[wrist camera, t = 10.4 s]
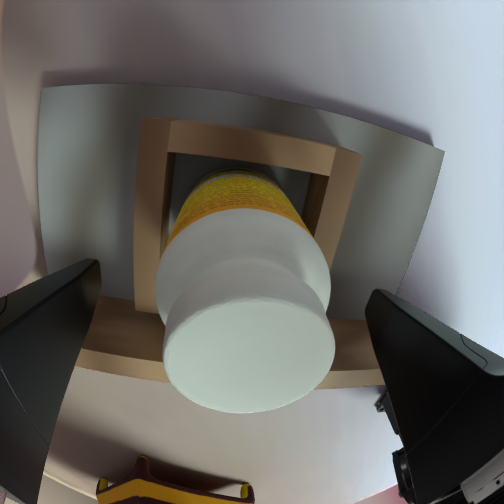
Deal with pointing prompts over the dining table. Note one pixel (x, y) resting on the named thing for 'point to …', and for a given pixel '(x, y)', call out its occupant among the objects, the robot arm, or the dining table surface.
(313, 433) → the dining table surface
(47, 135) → the board
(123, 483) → the decorative lantern
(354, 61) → the dining table surface
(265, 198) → the supplement bottle
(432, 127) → the dining table surface
